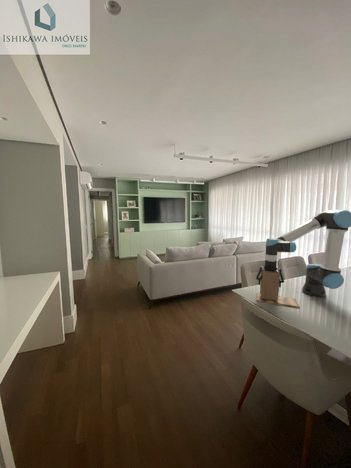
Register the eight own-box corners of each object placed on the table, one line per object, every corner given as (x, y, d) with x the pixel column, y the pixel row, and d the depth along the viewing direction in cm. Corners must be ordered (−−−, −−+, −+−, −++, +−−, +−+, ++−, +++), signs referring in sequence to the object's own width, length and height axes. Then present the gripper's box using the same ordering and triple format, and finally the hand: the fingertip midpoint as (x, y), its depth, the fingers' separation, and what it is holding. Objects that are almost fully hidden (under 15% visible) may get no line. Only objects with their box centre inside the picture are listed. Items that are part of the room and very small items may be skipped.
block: (278, 301, 134) (280, 273, 131) (262, 299, 136) (264, 272, 133) (274, 295, 143) (275, 269, 141) (259, 294, 145) (261, 268, 143)
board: (295, 300, 139) (295, 298, 139) (299, 308, 127) (299, 306, 127) (256, 294, 149) (256, 292, 149) (256, 301, 137) (256, 299, 137)
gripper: (288, 260, 136) (286, 290, 138) (253, 257, 144) (251, 286, 147) (290, 263, 129) (288, 294, 131) (253, 259, 137) (251, 289, 140)
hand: (269, 290), depth 139 cm, fingers closed on block, 11 cm apart
